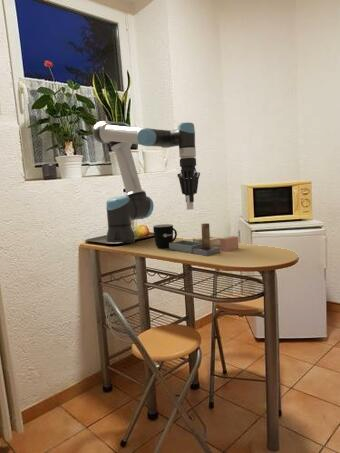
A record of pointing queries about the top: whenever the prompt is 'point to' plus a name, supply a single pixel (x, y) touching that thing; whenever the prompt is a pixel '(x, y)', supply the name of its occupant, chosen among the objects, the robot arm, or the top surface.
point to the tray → (184, 246)
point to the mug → (164, 235)
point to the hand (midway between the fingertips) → (190, 209)
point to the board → (213, 241)
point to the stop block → (229, 243)
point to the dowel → (205, 236)
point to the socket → (206, 251)
